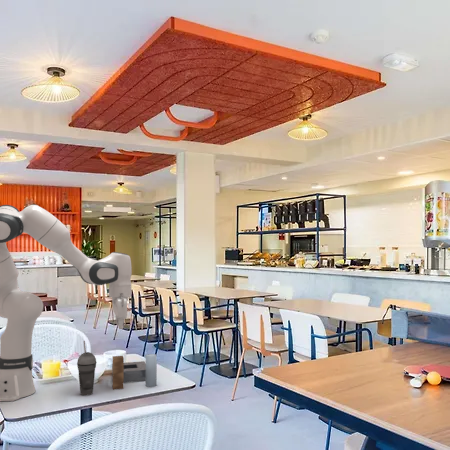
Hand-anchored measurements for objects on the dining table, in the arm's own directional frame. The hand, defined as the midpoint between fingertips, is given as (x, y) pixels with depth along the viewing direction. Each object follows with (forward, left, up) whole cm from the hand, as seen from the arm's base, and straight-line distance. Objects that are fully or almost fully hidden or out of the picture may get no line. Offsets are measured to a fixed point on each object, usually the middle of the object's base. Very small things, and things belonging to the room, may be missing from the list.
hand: (119, 326), depth 194 cm
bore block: (+5, +11, -24) cm, 26 cm away
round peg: (+12, -3, -24) cm, 27 cm away
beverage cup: (-13, -6, -24) cm, 28 cm away
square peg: (-1, -2, -24) cm, 24 cm away
